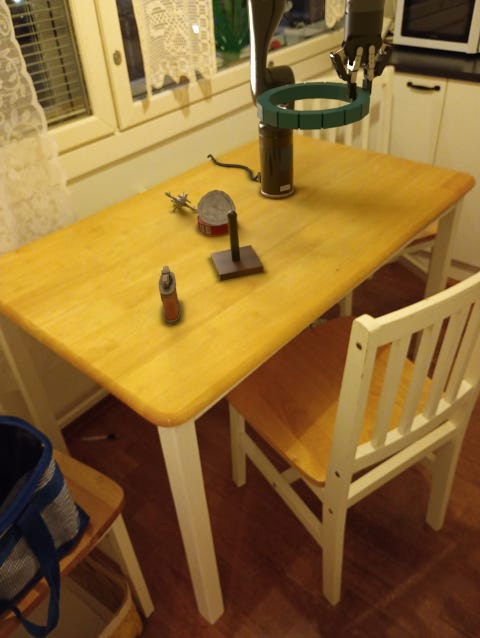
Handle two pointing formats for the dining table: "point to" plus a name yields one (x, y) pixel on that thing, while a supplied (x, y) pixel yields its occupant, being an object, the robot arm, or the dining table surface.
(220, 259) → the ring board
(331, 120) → the ring
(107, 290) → the dining table surface
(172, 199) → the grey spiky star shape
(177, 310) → the lighter
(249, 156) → the dining table surface
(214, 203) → the canned food
